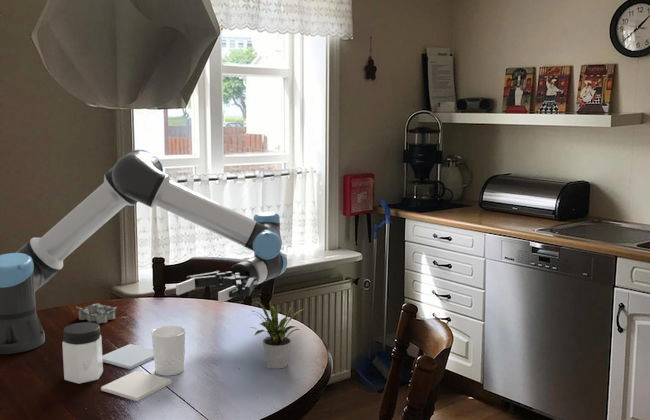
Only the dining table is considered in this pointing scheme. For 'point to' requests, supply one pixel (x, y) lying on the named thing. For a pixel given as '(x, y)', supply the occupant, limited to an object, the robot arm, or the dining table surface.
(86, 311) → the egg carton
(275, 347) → the house plant
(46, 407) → the dining table surface
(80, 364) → the jar
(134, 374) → the tile shorter
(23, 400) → the dining table surface
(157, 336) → the white cup
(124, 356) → the light grey square tile
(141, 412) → the dining table surface
